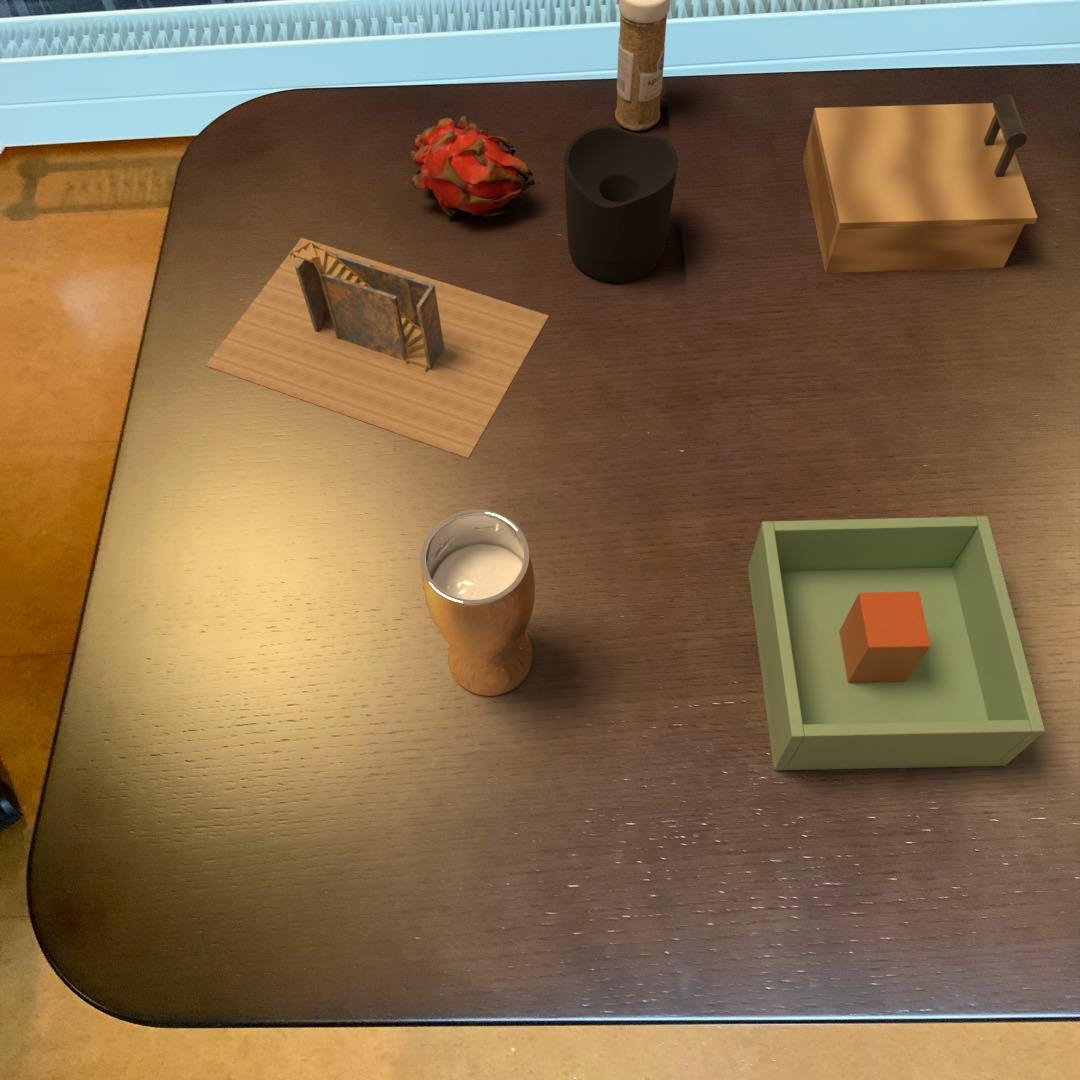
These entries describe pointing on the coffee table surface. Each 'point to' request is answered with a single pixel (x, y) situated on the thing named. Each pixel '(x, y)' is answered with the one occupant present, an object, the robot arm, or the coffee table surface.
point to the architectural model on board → (381, 345)
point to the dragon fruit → (468, 168)
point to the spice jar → (640, 62)
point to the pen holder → (618, 201)
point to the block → (884, 637)
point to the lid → (925, 164)
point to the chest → (898, 235)
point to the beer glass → (481, 598)
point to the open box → (936, 682)
